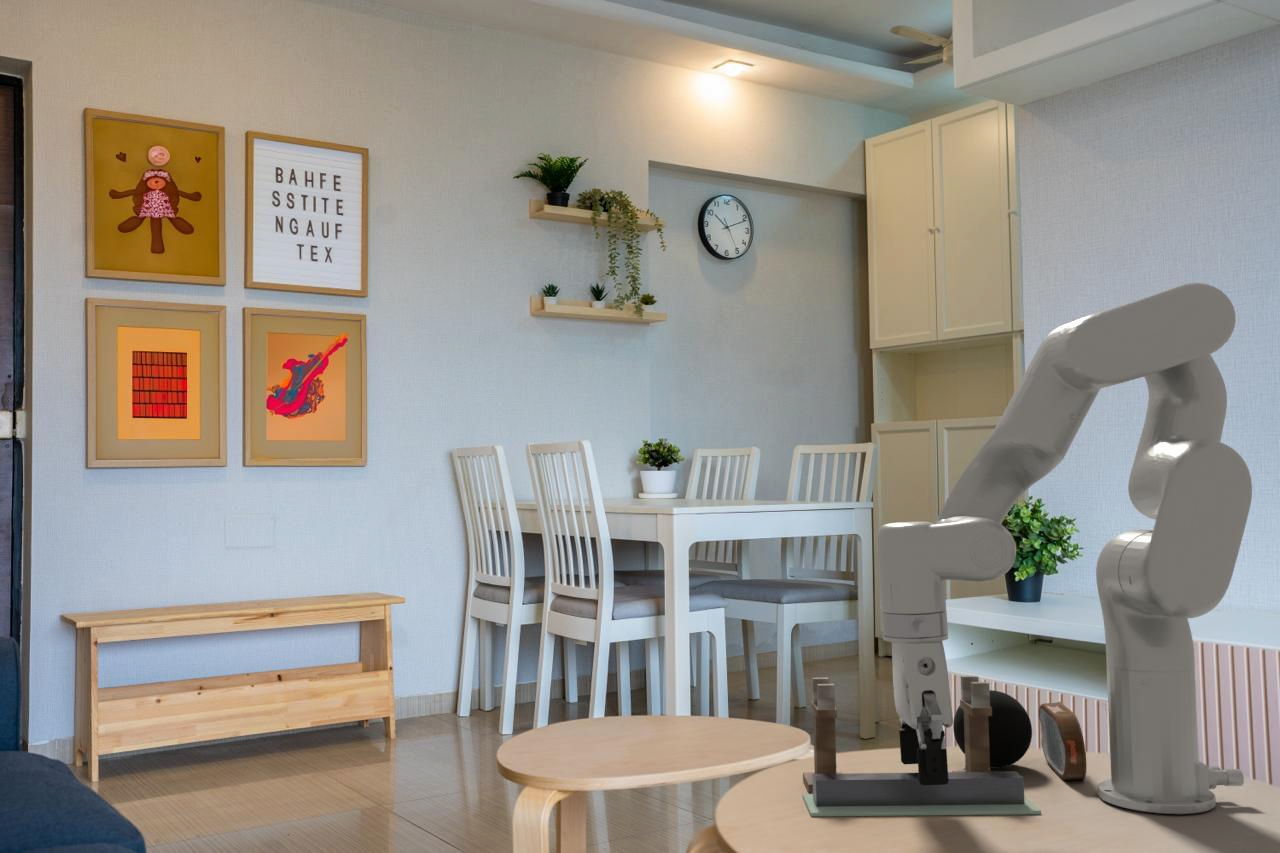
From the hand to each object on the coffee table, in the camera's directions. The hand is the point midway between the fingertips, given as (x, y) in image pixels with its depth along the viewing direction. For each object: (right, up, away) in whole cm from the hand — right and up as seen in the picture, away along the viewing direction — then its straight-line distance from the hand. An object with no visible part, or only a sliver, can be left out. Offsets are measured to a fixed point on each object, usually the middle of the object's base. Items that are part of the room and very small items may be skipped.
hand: (924, 773), depth 131 cm
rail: (-1, -3, 0) cm, 3 cm away
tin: (+22, -5, +14) cm, 26 cm away
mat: (-1, -4, 0) cm, 4 cm away
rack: (-1, -4, +9) cm, 10 cm away
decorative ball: (+14, -5, +17) cm, 23 cm away
